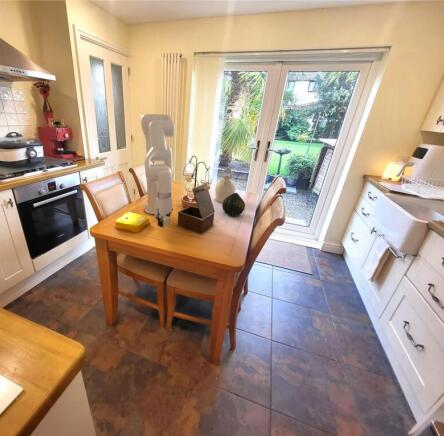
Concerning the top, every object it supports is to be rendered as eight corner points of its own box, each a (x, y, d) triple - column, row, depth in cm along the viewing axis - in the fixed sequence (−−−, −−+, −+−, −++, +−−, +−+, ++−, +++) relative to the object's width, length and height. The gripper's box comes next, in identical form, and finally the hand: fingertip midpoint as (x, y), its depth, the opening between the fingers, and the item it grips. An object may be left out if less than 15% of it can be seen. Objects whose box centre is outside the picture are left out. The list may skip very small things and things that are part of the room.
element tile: (137, 233, 129) (137, 225, 127) (114, 228, 134) (114, 220, 132) (150, 222, 142) (150, 215, 140) (128, 218, 147) (128, 211, 145)
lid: (191, 188, 125) (199, 186, 122) (205, 183, 135) (212, 181, 132) (201, 219, 128) (209, 218, 124) (213, 211, 138) (221, 210, 134)
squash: (226, 212, 147) (242, 193, 146) (214, 204, 160) (229, 187, 159) (239, 223, 155) (253, 205, 154) (226, 215, 167) (240, 199, 167)
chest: (177, 225, 140) (178, 211, 137) (190, 218, 150) (191, 205, 146) (200, 234, 131) (202, 220, 128) (212, 225, 141) (214, 212, 138)
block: (157, 225, 131) (157, 217, 128) (163, 222, 134) (163, 214, 132) (164, 228, 128) (164, 220, 126) (170, 224, 132) (170, 217, 129)
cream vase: (219, 195, 192) (222, 165, 181) (237, 200, 184) (241, 168, 173) (210, 200, 180) (213, 168, 170) (228, 205, 172) (233, 172, 162)
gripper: (169, 188, 131) (168, 217, 139) (147, 196, 119) (148, 228, 127) (179, 192, 127) (178, 221, 135) (158, 200, 115) (158, 232, 123)
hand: (163, 224), depth 131 cm, fingers closed on block, 5 cm apart
